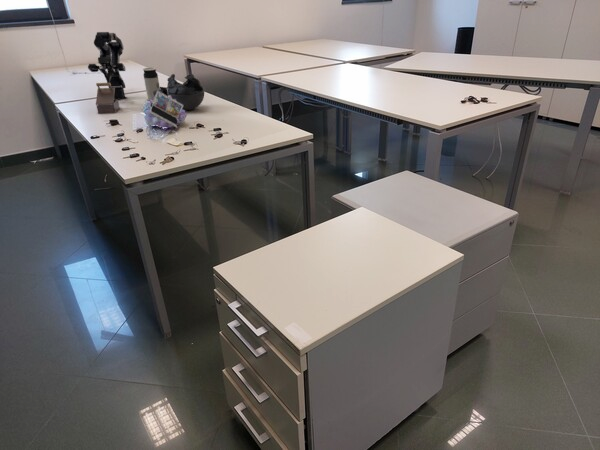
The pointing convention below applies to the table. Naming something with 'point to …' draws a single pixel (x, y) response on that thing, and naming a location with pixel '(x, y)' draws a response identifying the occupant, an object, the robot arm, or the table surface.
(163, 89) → the speaker
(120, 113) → the table surface
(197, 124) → the table surface
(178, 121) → the crystal picture frame
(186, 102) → the bowl of black rocks
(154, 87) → the travel mug
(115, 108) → the key box
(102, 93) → the lid
